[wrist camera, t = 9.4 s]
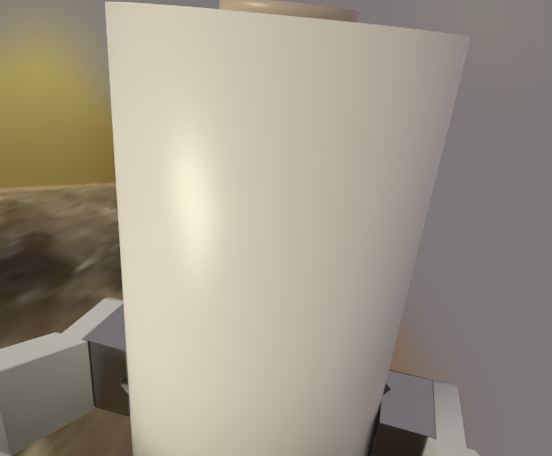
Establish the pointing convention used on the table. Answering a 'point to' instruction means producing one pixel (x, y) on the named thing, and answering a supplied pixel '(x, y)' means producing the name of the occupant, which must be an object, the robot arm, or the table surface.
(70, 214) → the table surface
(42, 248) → the table surface
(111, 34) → the roll
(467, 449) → the robot arm
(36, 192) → the table surface
